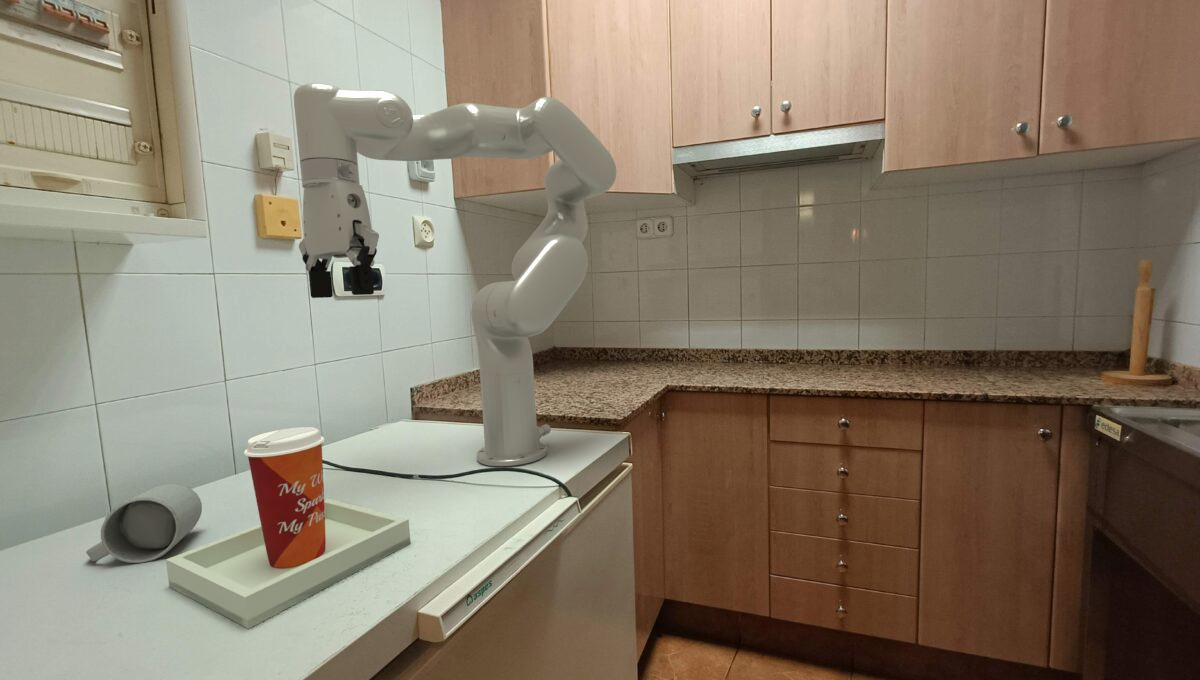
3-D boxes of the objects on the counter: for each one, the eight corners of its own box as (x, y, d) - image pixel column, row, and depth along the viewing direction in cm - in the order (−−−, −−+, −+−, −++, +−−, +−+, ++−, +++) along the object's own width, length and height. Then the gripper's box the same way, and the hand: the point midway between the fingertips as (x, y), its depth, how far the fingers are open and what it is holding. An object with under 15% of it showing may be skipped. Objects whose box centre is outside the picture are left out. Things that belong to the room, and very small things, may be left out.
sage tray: (330, 520, 71) (328, 498, 71) (410, 543, 63) (408, 519, 63) (169, 586, 56) (165, 559, 55) (248, 629, 47) (245, 597, 47)
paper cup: (302, 575, 55) (287, 444, 54) (240, 572, 56) (224, 444, 55) (351, 540, 62) (339, 424, 61) (295, 538, 64) (282, 425, 63)
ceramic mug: (209, 528, 70) (202, 472, 70) (182, 556, 62) (174, 493, 62) (111, 545, 67) (102, 487, 66) (70, 577, 59) (60, 511, 58)
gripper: (392, 172, 75) (402, 292, 77) (320, 190, 84) (330, 297, 85) (344, 162, 69) (356, 294, 70) (271, 182, 77) (283, 299, 79)
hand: (342, 296), depth 78 cm, fingers open, 9 cm apart
